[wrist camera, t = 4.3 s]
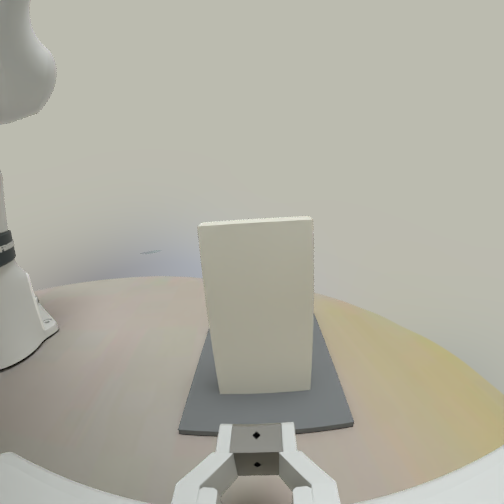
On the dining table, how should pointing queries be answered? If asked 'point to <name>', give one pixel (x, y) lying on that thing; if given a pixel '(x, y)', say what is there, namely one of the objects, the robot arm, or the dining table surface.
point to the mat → (267, 399)
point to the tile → (260, 302)
